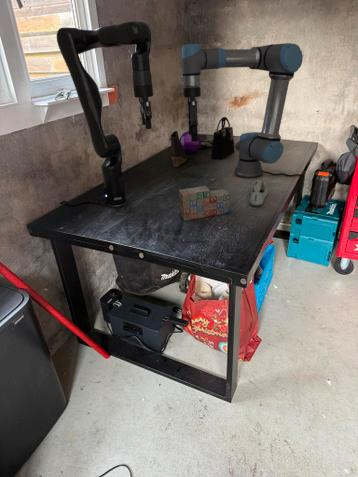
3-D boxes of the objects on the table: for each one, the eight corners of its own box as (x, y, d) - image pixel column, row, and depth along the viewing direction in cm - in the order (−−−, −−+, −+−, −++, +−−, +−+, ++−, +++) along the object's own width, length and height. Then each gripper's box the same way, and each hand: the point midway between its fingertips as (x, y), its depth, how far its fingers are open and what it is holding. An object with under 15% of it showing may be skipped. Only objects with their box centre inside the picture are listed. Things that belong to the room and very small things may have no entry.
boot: (189, 157, 225) (188, 126, 215) (182, 168, 205) (180, 135, 195) (176, 157, 227) (175, 126, 217) (168, 168, 206) (166, 135, 196)
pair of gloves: (199, 150, 238) (199, 143, 235) (184, 143, 258) (184, 136, 255) (235, 144, 247) (235, 137, 245) (218, 137, 268) (218, 131, 265)
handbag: (222, 160, 214) (223, 120, 202) (210, 158, 219) (210, 119, 206) (235, 152, 229) (236, 114, 217) (223, 150, 234) (224, 113, 221)
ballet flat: (269, 188, 169) (270, 173, 165) (265, 208, 149) (266, 191, 145) (252, 187, 171) (253, 172, 167) (246, 206, 151) (247, 190, 147)
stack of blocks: (224, 207, 152) (224, 182, 146) (229, 213, 147) (230, 187, 141) (179, 215, 148) (178, 189, 142) (183, 220, 143) (182, 194, 136)
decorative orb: (204, 151, 235) (204, 129, 228) (194, 156, 225) (193, 134, 217) (186, 149, 243) (186, 128, 235) (175, 154, 232) (174, 132, 224)
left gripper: (130, 82, 132) (135, 124, 140) (135, 85, 120) (140, 131, 128) (148, 81, 133) (152, 122, 141) (155, 84, 121) (159, 129, 129)
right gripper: (181, 84, 149) (183, 132, 160) (184, 90, 127) (186, 145, 138) (197, 83, 149) (198, 131, 160) (204, 89, 128) (204, 144, 138)
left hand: (146, 126), depth 135 cm, fingers open, 8 cm apart
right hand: (193, 137), depth 149 cm, fingers open, 13 cm apart
